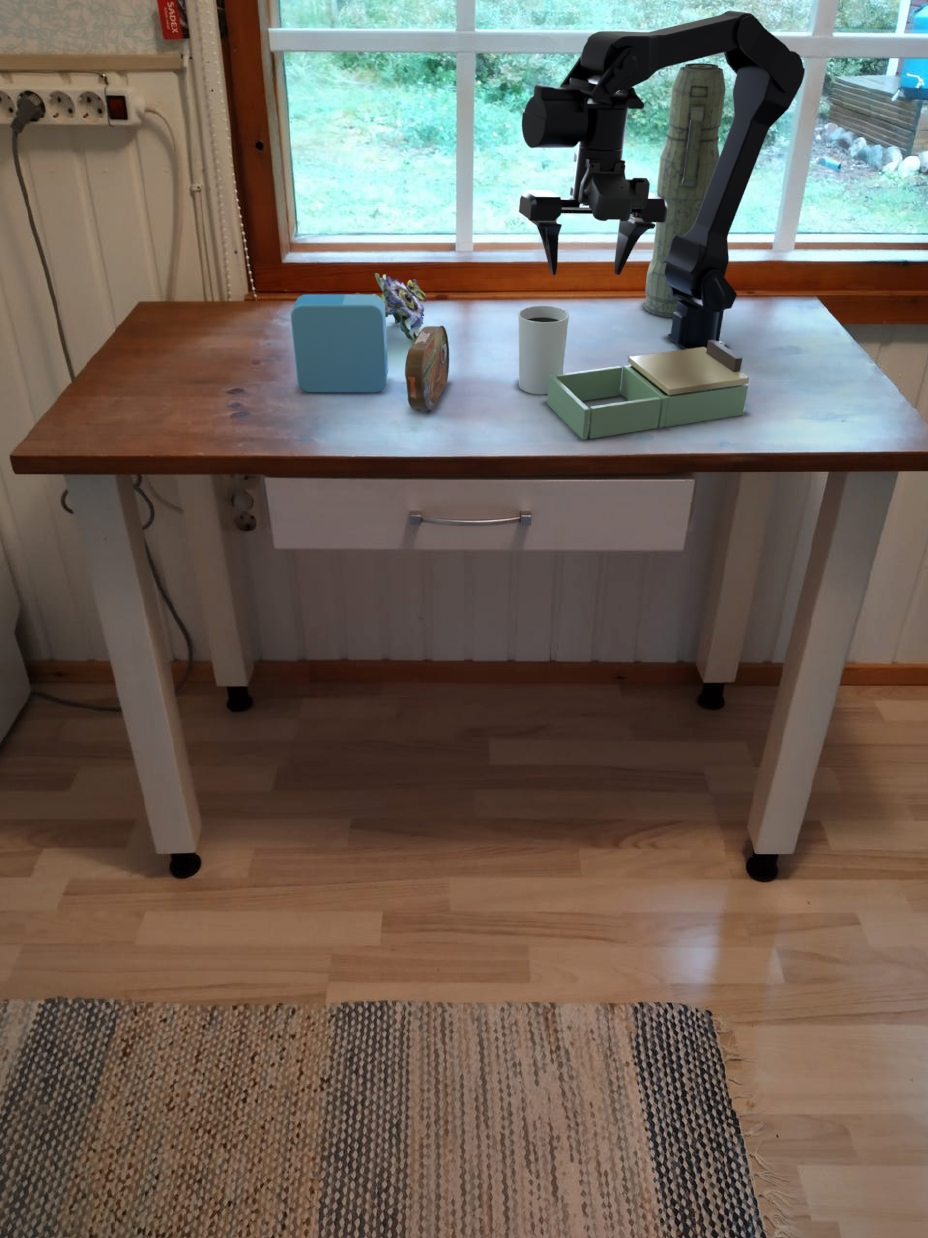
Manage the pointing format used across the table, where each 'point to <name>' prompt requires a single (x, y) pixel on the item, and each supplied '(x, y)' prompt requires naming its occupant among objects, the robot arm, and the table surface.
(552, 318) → the white cup
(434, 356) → the tin
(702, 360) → the sliding lid
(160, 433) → the table surface
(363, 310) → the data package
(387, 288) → the passion flower
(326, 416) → the table surface
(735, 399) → the storage box
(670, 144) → the thermos
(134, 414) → the table surface
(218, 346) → the table surface
